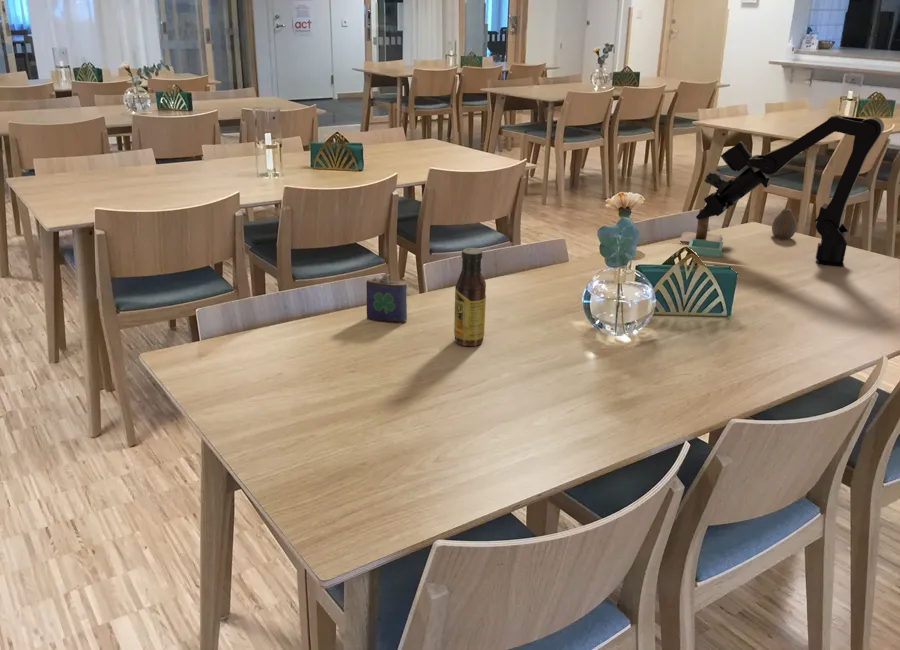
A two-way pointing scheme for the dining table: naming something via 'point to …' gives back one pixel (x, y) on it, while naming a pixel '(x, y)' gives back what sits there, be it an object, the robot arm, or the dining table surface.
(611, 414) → the dining table surface
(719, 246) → the dish
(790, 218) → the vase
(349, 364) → the dining table surface
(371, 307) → the flask
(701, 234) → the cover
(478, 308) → the sauce bottle
